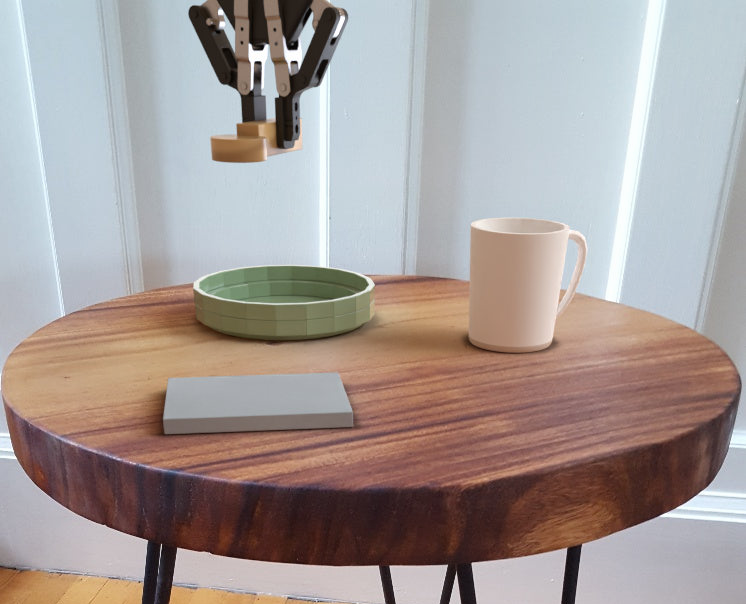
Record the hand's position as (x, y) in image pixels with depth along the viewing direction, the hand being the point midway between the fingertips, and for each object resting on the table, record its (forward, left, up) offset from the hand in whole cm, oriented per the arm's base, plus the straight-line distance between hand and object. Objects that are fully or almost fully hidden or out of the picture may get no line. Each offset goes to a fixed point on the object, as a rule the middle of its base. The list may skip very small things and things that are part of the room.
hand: (272, 146), depth 81 cm
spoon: (-1, -2, 0) cm, 2 cm away
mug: (+23, 0, -17) cm, 29 cm away
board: (-3, -17, -17) cm, 24 cm away
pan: (+1, +11, -17) cm, 20 cm away
